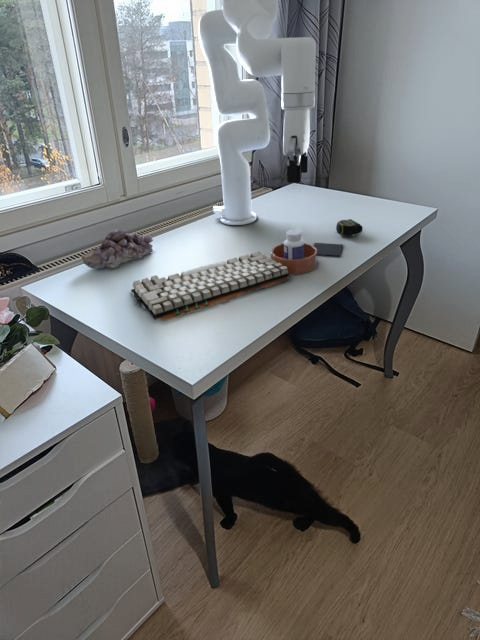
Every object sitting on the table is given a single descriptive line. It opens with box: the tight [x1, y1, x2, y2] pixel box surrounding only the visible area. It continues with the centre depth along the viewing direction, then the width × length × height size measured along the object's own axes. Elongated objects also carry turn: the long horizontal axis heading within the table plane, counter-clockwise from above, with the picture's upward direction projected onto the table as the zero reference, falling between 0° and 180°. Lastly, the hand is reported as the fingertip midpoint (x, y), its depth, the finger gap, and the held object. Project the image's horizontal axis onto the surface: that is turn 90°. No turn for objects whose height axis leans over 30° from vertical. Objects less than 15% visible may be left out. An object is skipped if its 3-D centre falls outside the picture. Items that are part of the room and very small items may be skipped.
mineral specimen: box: [81, 228, 154, 270], centre depth 128 cm, size 20×10×10 cm
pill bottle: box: [283, 229, 305, 260], centre depth 119 cm, size 5×5×9 cm
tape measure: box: [335, 218, 364, 237], centre depth 137 cm, size 7×7×4 cm
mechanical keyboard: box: [130, 250, 292, 322], centre depth 113 cm, size 38×19×3 cm, turn 120°
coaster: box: [313, 242, 343, 257], centre depth 129 cm, size 8×8×1 cm
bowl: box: [270, 242, 318, 275], centre depth 121 cm, size 12×12×4 cm
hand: (297, 177), depth 112 cm, fingers open, 9 cm apart
